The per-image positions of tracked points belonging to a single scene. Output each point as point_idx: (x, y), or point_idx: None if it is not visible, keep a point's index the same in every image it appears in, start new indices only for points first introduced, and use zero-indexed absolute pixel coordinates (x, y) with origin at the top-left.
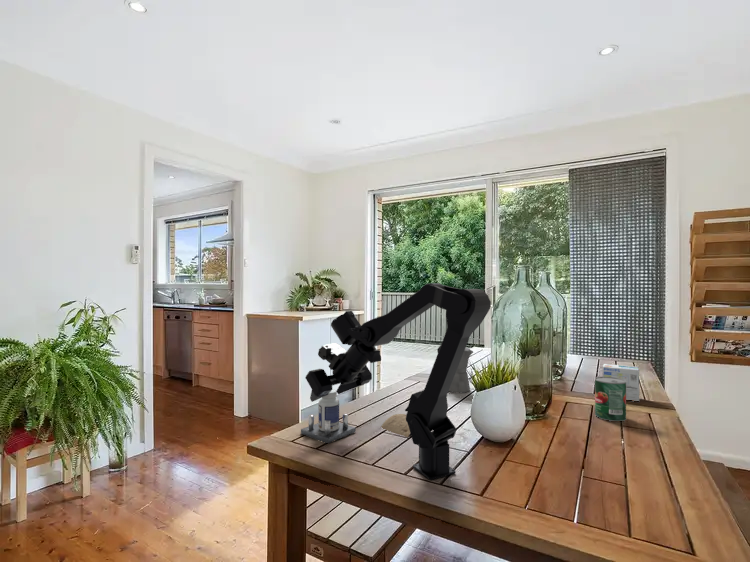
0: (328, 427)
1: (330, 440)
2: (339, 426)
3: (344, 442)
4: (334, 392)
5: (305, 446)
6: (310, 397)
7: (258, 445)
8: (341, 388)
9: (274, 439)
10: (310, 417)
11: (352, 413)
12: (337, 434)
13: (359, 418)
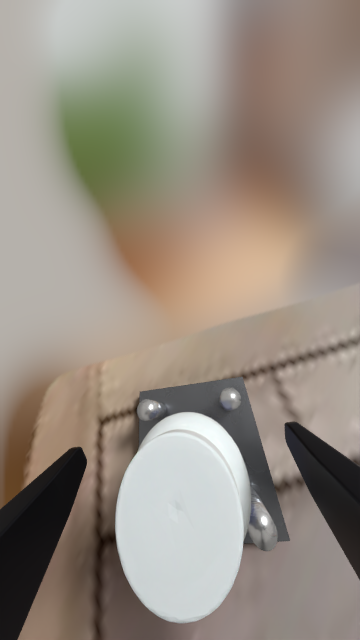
0: None
1: None
2: None
3: None
4: (189, 620)
5: (94, 491)
6: (60, 460)
7: (50, 390)
8: (329, 498)
9: (88, 382)
10: (140, 416)
11: (345, 349)
12: None
13: (355, 404)
